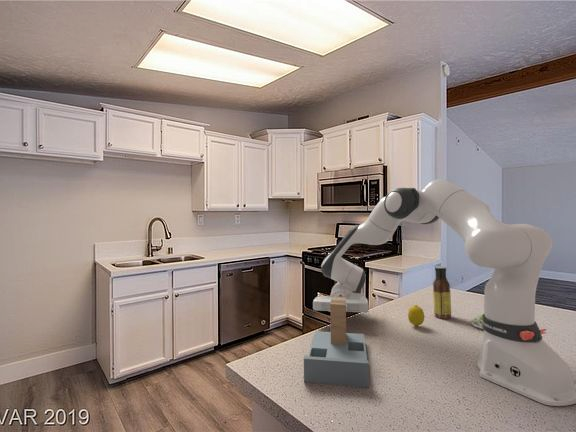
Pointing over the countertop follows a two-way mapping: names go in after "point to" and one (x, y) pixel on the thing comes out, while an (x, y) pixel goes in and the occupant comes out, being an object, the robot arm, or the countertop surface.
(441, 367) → the countertop surface
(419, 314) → the lemon
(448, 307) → the sauce bottle
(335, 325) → the block
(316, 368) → the deck
